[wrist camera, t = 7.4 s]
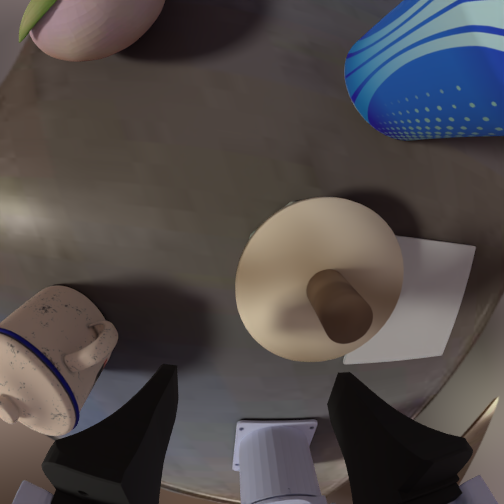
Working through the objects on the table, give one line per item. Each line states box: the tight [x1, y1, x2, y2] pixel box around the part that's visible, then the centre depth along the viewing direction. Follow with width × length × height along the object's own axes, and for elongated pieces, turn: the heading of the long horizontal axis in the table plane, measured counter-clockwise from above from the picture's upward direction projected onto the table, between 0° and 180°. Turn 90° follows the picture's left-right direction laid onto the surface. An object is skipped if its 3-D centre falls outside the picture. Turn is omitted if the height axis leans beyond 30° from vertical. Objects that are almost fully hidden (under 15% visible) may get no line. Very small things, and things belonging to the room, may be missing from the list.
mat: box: [343, 235, 476, 364], centre depth 23 cm, size 12×12×1 cm
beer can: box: [344, 0, 504, 141], centre depth 10 cm, size 8×8×16 cm
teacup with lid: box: [0, 285, 118, 436], centre depth 16 cm, size 12×9×12 cm
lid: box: [236, 196, 404, 362], centre depth 15 cm, size 10×10×5 cm
